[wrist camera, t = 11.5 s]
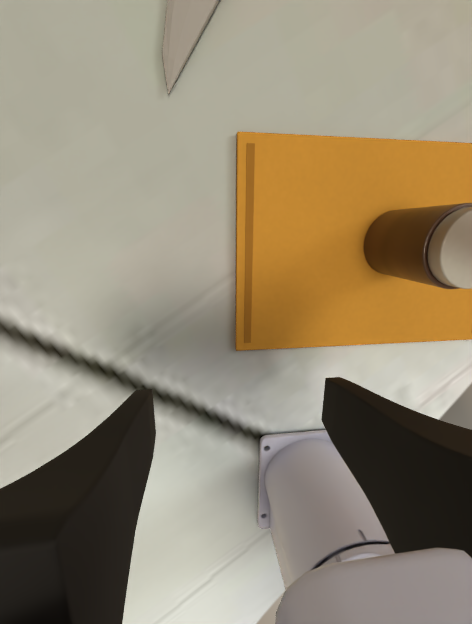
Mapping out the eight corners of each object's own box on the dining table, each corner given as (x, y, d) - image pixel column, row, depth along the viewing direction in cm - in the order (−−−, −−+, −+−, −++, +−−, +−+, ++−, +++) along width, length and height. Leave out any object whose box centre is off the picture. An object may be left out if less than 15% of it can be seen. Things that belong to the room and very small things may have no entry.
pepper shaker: (416, 273, 21) (506, 292, 15) (359, 274, 21) (429, 294, 15) (426, 210, 20) (529, 201, 14) (367, 209, 20) (446, 200, 13)
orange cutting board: (476, 337, 24) (481, 339, 24) (235, 348, 22) (236, 351, 21) (522, 147, 20) (530, 145, 20) (236, 133, 18) (237, 131, 17)
